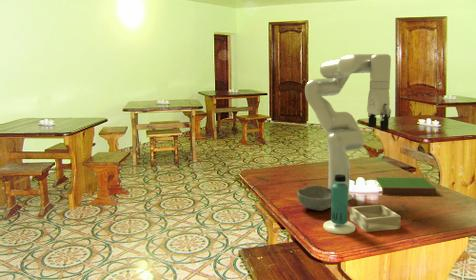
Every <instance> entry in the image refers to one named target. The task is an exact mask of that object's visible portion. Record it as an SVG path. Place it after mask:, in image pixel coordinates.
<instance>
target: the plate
mask: <svg viewBox="0 0 476 280" xmlns="http://www.w3.org/2000/svg"><path fill="white" fill-rule="evenodd" d="M322 227H323V229H324V230H325V231H326V232H328V233H331V234H335V235H349V234H352V233H354V232H355V231H356V224H355V223H354V222H353V223H352V221H347V223H346V224H335V223H332V221H331V219H330V220H327V221H325V222H324V223H323V226H322Z"/></svg>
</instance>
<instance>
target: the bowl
mask: <svg viewBox="0 0 476 280" xmlns="http://www.w3.org/2000/svg"><path fill="white" fill-rule="evenodd" d="M331 192H332V189H330V188H328V186H322V185H315V184H314V185H310V186H306V187H302V188H299V189H298V190H297V193H296V196H297V200H298V202H299V203H300V204H301V206H302V207H304V208H306V209H308V210H309V209H310V210H314V211H319V212H323V211H326V210H329V208H330V209H331V198H332V197H331V195H332V193H331Z"/></svg>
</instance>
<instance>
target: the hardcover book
mask: <svg viewBox="0 0 476 280" xmlns="http://www.w3.org/2000/svg"><path fill="white" fill-rule="evenodd" d="M376 181H377V182H378V183H379V187H381V188H382V192H381V194H382V195H397V196H398V195H401V196H402V195H403V196H405V195H406V196H407V195H408V196H412V195H413V196H436V195H437V194H436V191H437V190H436V189H437V188H436V187H435V186H434V185H433V184H431V183H430V182H429V181H428V180H426V179H425V177H375V182H376Z"/></svg>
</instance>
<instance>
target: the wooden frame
mask: <svg viewBox="0 0 476 280" xmlns="http://www.w3.org/2000/svg"><path fill="white" fill-rule="evenodd" d="M401 217H402V216H401V215H400V214H398V213H396V212H395V211H393V210H391V209H390V208H388V207H386V206H385V205H383V204H373V205H372V204H371V205H370V204H369V205H360V206H350V207H349V220H350V222H353V224H354V225H355V226H357V227H359V228H360V229H362V230H363V231H364V232H365V233H370V232H371V233H372V232H380V231H381V232H382V231H389V230H399V229H401Z"/></svg>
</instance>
